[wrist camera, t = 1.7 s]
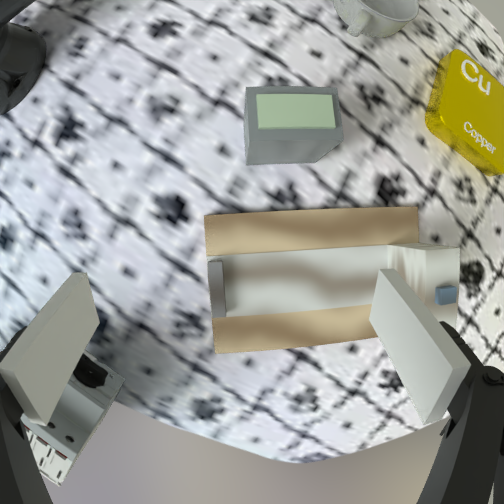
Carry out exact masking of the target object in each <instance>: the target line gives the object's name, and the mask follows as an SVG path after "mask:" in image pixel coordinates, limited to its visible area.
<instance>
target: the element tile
mask: <svg viewBox="0 0 504 504" xmlns="http://www.w3.org/2000/svg"><path fill="white" fill-rule="evenodd" d="M425 123H426V126H427V128H428V129H429V130H430V132H431V133H432V134H433V135H435V136H436V137H438V138H439V139H440V140H442V141H443V142H444V143H446V144H447V145H448V146H450V147H451V148H452V149H454V150H455V151H456V152H458V153H459V154H460V155H462V156H463V157H464V158H465V159H467V160H468V161H469V162H470V163H472V164H473V165H474V166H475V167H476V168H478V169H479V170H480V171H481V172H482V173H484V174H485V175H487V176H495V175H501V174H504V86H503V85H501V84H500V83H499V82H498V81H497V80H496V79H495V78H494V77H493V76H492V75H491V74H489V73H488V72H487V71H486V70H485V69H484V68H483V67H481V66H480V65H479V64H478V63H477V62H475V61H474V60H473V59H472V58H471V57H469V56H468V55H467V54H466V53H464V52H463V51H461V50H459V49H454V50H453V51H451V52H450V53H449V54H447V55H446V56H445V57H443V58H442V59H441V60H440V61H439V65H438V69H437V73H436V77H435V81H434V85H433V89H432V92H431V96H430V100H429V103H428V107H427V110H426V114H425Z"/></svg>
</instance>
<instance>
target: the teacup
mask: <svg viewBox="0 0 504 504" xmlns="http://www.w3.org/2000/svg"><path fill="white" fill-rule="evenodd" d="M333 2H334V7H335V9H336V11H337V13H338V15H339V16H340V18H341V19H342V20H343V21H344V22H345V23H346V24H347V25H349V27H348V29H347V32H348V33H349V34H351V35H352V36H355V37H357V36H358V35H359V34H360V33H362V34H364V35H367V36H371V37H379V38H381V37H388V36H390V35H393V34H394V33H396V32H398V31H399V30H400V29H401V28H403V27H404V26H405V25H406V24H407V23H408V22H409V21H411V20H413V19H414V18H415V17H416V16H417V14H418V12H419V4H418V0H333Z"/></svg>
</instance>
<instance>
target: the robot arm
mask: <svg viewBox="0 0 504 504" xmlns="http://www.w3.org/2000/svg"><path fill="white" fill-rule="evenodd" d="M35 1H36V0H0V115H2V114H4V113H6V112H7V111H9V110H10V109H12V108H13V107H14V106H16V105H17V104H18V103H19V102H20V101H21V100H22V99H23V98H24V97H25V95H26V94H27V93H28V92H29V90H30V89H31V87H32V86H33V84H34V83H35V81H36V79H37V78H38V76H39V74H40V71H41V69H42V66H43V63H44V60H45V55H46V45H45V41H44V39H43V37H42V36H41V35H40V34H39V33H38V32H36V31H35V30H34V29H32V28H30V27H26V26H22V25H19V24H15V23H10V22H9V21H10V20H11V19H13V18H14V17H15V16H16V15H18V14H19V13H20V12H21V11H23V10H24V9H25V8H27V7H28V6H29V5H30V4H32V3H33V2H35ZM369 321H370V323H371V324H372V326H373V328H374V330H375V332H376V334H377V335H378V337H379V339H380V341H381V343H382V345H383V346H384V348H385V350H386V352H387V354H388V356H389V358H390V360H391V362H392V363H393V365H394V367H395V369H396V371H397V373H398V375H399V377H400V379H401V381H402V383H403V385H404V387H405V389H406V391H407V393H408V395H409V397H410V399H411V401H412V403H413V405H414V407H415V409H416V411H417V413H418V415H419V417H420V419H421V421H422V423H423V425H425V424H429V423H433V422H436V421H440V420H441V419H442V417H443V415H444V414H445V412H446V410H448V412H449V413H450V415H451V418H450V419H449V421H448V422H447V424H446V425H445V427H444V429H443V430H442V432H441V433H440V435H441V436H442V435H443V434H444V436H443V438H442V441H441V444H440V447H439V450H438V453H437V456H436V459H435V461H434V464H433V466H432V469H431V471H430V474H429V476H428V479H427V481H426V484H425V486H424V488H423V491H422V493H421V495H420V497H419V499H418V502H417V504H488V501H489V497H490V494H491V490H492V486H493V482H494V494H493V497H494V498H493V504H504V373H503V372H501V371H500V370H499V369H497V368H495V367H493V366H483V364H482V363H481V362H480V360H479V359H478V358H477V357H476V355H475V354H474V353H473V351H472V350H471V349H470V347H469V346H468V345H467V344H465V341H464V340H463V339H462V337H461V338H460V335H459V334H458V332H457V331H456V330H455V329H454V328H453V327H452V326H450V325H449V324H448V323H446V322H445V321H440V322H438V320H437V319H436V318H435V317H434V315H433V314H432V313H431V312H430V310H429V309H428V308H427V307H426V306H425V304H424V303H423V302H422V301H421V300H420V298H419V297H418V296H417V295H416V294H415V292H414V291H413V290H412V289H411V288H410V286H409V285H408V284H407V283H406V282H405V281H404V279H403V278H402V277H401V276H400V275H399V274H398V273H397V271H396V270H395V269H394V268H391V269H379V272H378V277H377V283H376V288H375V293H374V298H373V303H372V307H371V312H370V317H369ZM99 323H100V322H99V318H98V315H97V311H96V308H95V304H94V300H93V296H92V292H91V288H90V284H89V280H88V276H87V273H72V274H71V275H70V277H69V278H68V279H67V280H66V281H65V282H64V283H63V285H62V286H61V287H60V288H59V289H58V290H57V292H56V293H55V294H54V295H53V296H52V297H51V299H50V300H49V301H48V302H47V303H46V305H45V306H44V307H43V308H42V309H41V311H40V312H39V313H38V314H37V316H36V317H35V318H34V319H33V321H32V322H31V323H30V324H29V326H25V327H24V328H23V329H21V330H20V331H18V332H17V333H16V334H15V335H14V337H13V338H12V339H11V341H10V343H8V345H7V346H6V347H5V349H4V350H3V351H2V352H1V354H0V504H53V502H52V500H51V498H50V496H49V493H48V491H47V489H46V486H45V484H44V481H43V479H42V476H41V474H40V471H39V468H38V466H37V463H36V460H35V457H34V454H33V451H32V449H31V445H30V442H29V439H28V436H27V433H26V429H25V426H24V423H23V422H22V420H21V419H20V418H21V416H22V414H23V412H24V413H25V414H26V416H27V417H28V419H29V420H30V422H32V423H35V424H39V425H43V426H47V424H48V422H49V420H50V418H51V415H52V413H53V411H54V409H55V407H56V405H57V403H58V401H59V399H60V397H61V395H62V393H63V391H64V389H65V387H66V385H67V383H68V381H69V379H70V377H71V375H72V373H73V371H74V369H75V367H76V365H77V363H78V361H79V359H80V358H81V356H82V354H83V352H84V350H85V348H86V346H87V345H88V343H89V341H90V339H91V337H92V336H93V334H94V332H95V330H96V328H97V327H98V325H99Z"/></svg>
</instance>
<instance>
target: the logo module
mask: <svg viewBox="0 0 504 504" xmlns="http://www.w3.org/2000/svg"><path fill="white" fill-rule="evenodd" d="M244 140H245V157H246V165H264V164H293V163H315V162H317V161H318V160H319V159H320V158H322V157H323V156H324V155H325V154H327V153H328V152H329V151H331V150H332V149H333V148H334V147H336V146H337V145H338V144H340V143H341V142H342V141H343V140H344V139H343V130H342V122H341V114H340V106H339V99H338V92H337V88H329V87H301V86H267V87H246V95H245V110H244Z"/></svg>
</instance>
